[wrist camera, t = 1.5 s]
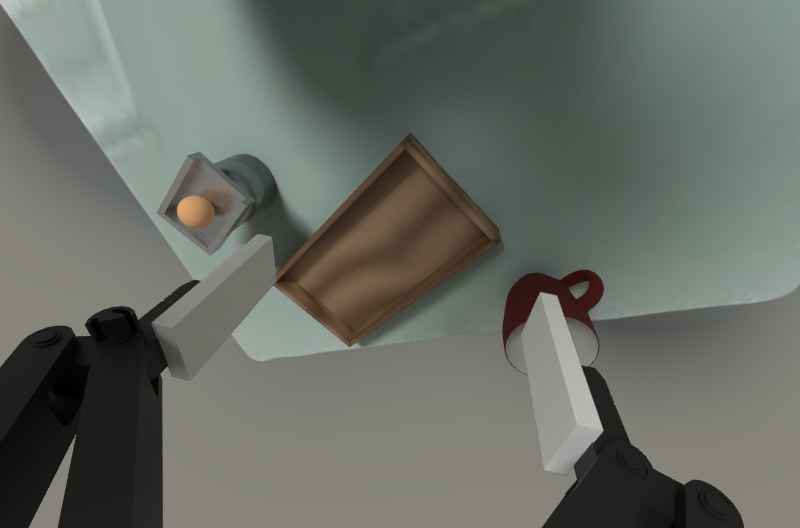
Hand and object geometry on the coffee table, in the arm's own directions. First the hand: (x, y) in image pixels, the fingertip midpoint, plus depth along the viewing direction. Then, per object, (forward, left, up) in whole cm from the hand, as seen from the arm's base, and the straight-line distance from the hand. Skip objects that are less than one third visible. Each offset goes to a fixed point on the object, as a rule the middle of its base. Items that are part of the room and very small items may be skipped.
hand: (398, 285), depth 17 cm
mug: (+17, 0, -21) cm, 27 cm away
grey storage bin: (-14, -17, -21) cm, 30 cm away
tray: (+2, -12, -21) cm, 24 cm away
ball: (-14, -17, -14) cm, 25 cm away
